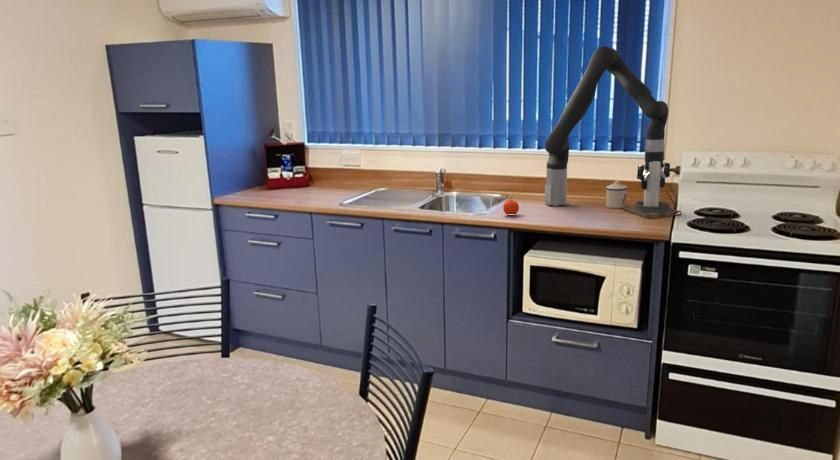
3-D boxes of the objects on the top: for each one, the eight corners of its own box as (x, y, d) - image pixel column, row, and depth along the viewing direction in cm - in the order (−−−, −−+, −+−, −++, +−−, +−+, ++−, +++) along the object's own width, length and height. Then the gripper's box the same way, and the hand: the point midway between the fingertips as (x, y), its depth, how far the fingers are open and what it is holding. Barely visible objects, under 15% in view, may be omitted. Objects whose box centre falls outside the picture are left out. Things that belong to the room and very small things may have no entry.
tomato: (501, 213, 262) (500, 198, 261) (516, 212, 263) (516, 197, 261) (505, 217, 255) (504, 201, 253) (520, 216, 255) (520, 200, 254)
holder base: (647, 218, 240) (648, 209, 240) (623, 210, 256) (623, 201, 256) (681, 214, 244) (681, 205, 243) (655, 207, 260) (655, 198, 259)
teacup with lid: (626, 208, 260) (627, 183, 257) (605, 208, 263) (606, 183, 260) (626, 203, 271) (626, 178, 269) (605, 203, 274) (606, 178, 271)
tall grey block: (644, 206, 254) (646, 158, 249) (659, 207, 252) (661, 158, 246) (642, 210, 248) (644, 160, 243) (657, 211, 246) (659, 161, 240)
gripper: (663, 148, 249) (661, 185, 253) (634, 150, 246) (632, 188, 250) (675, 149, 242) (673, 188, 246) (645, 152, 239) (643, 191, 243)
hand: (652, 188), depth 248 cm, fingers open, 8 cm apart
